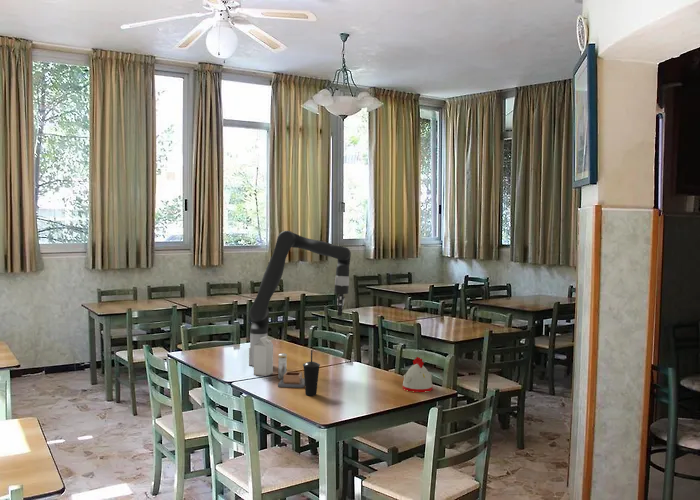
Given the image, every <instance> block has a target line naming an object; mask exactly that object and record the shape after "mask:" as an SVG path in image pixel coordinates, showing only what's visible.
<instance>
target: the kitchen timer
mask: <svg viewBox="0 0 700 500" xmlns="http://www.w3.org/2000/svg"><path fill="white" fill-rule="evenodd" d="M412 363H413V364H412V365H411V366H410V367H409V368H408V370H407V371H406V373H405V374H404V375H403V382H402V390H404V389H405V390H404V391H406V390H408V391H407V392H409V391H414V392H413V393H415V392H425V391H430V392H431V390H432V391H433V382H432V380H433V376H432V373H429V371H428V369H427V368H426V367H425V366H424V361H423V358H421V357H418V356H416V358H414V360H412ZM425 393H426V392H425Z"/></svg>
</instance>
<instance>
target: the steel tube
mask: <svg viewBox="0 0 700 500" xmlns="http://www.w3.org/2000/svg"><path fill="white" fill-rule="evenodd" d="M287 357H288V354H287V353H283V352H282V353H281V352H280V353H278V356H277V358H278V361H277V363H278V371H277V372H278V374H277V379H278V380H281V379H282V378H284V374H285V373H286V372H287V362H288V360H287Z"/></svg>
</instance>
